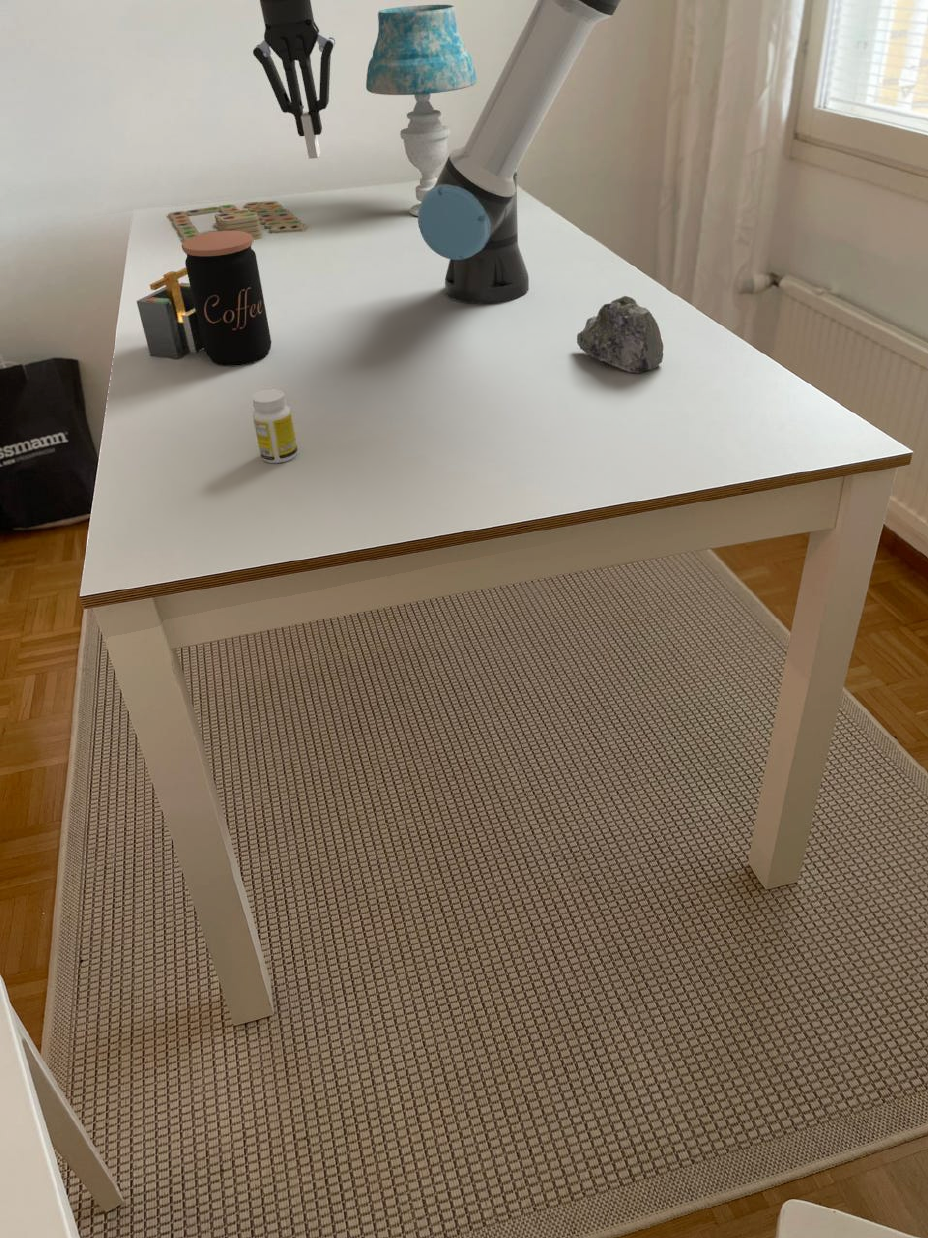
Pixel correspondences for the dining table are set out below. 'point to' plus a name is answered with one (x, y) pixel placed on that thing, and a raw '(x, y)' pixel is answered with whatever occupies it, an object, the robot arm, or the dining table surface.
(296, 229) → the pile of dominoes
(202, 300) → the coffee jar
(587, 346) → the mineral rock
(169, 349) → the gauge housing
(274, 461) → the supplement bottle
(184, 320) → the plunger
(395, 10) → the table lamp
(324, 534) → the dining table surface
